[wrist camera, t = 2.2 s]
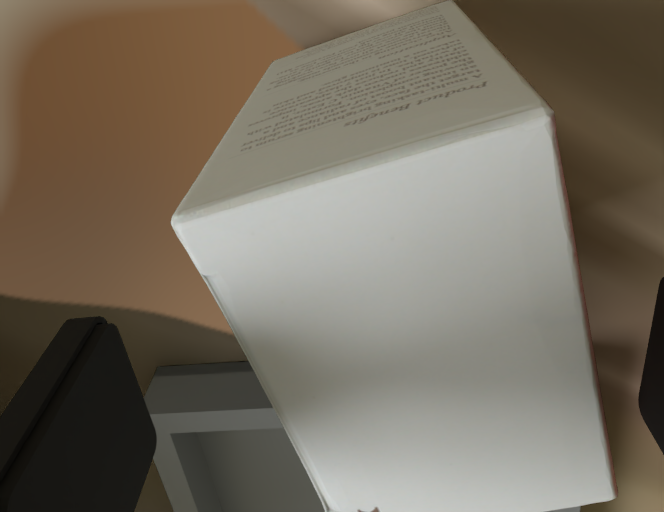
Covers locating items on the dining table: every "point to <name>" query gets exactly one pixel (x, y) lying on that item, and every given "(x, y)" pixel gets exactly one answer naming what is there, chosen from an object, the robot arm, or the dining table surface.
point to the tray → (226, 443)
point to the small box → (408, 273)
